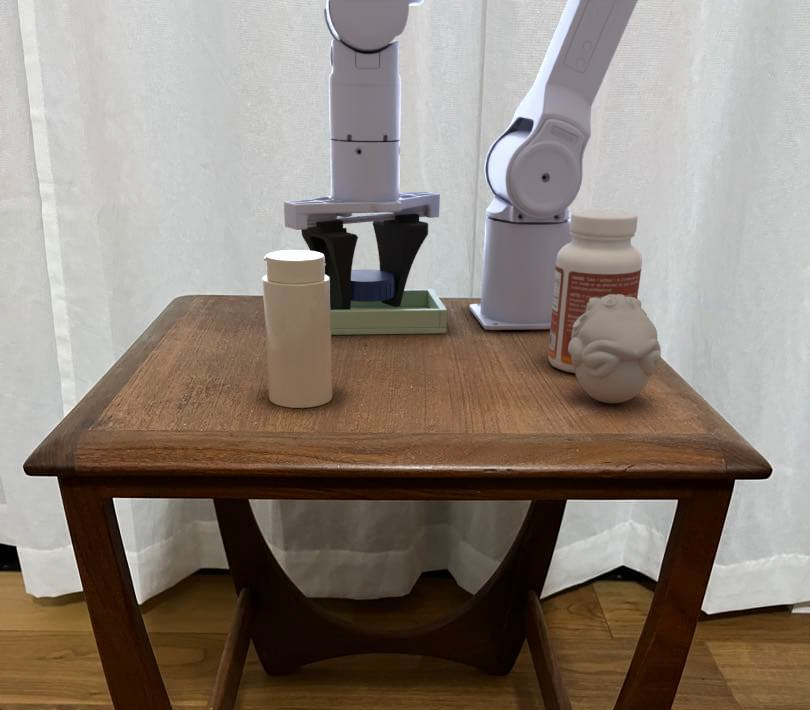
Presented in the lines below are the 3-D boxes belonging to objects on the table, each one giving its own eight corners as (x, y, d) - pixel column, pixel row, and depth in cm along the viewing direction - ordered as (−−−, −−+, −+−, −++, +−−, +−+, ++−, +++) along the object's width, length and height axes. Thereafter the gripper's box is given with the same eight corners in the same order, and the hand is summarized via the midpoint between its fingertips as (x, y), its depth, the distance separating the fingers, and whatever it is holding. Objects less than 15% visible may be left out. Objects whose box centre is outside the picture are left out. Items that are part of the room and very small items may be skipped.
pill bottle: (645, 369, 67) (668, 216, 61) (586, 382, 64) (605, 222, 58) (588, 350, 71) (604, 205, 66) (530, 361, 68) (543, 210, 63)
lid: (327, 291, 78) (326, 271, 77) (380, 286, 80) (380, 267, 79) (349, 304, 74) (349, 283, 73) (404, 299, 76) (404, 278, 75)
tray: (432, 310, 82) (433, 288, 81) (446, 333, 75) (447, 310, 74) (291, 312, 81) (290, 290, 80) (291, 335, 74) (290, 311, 73)
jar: (330, 386, 62) (326, 248, 57) (334, 407, 58) (331, 261, 54) (268, 388, 61) (260, 249, 57) (269, 409, 57) (260, 262, 53)
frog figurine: (629, 382, 64) (643, 285, 61) (671, 415, 58) (689, 309, 54) (549, 385, 63) (559, 286, 60) (583, 419, 57) (596, 311, 54)
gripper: (314, 145, 64) (319, 329, 71) (465, 141, 72) (457, 307, 78) (267, 139, 69) (276, 311, 76) (413, 135, 77) (410, 292, 83)
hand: (365, 308), depth 77 cm, fingers closed on lid, 5 cm apart
